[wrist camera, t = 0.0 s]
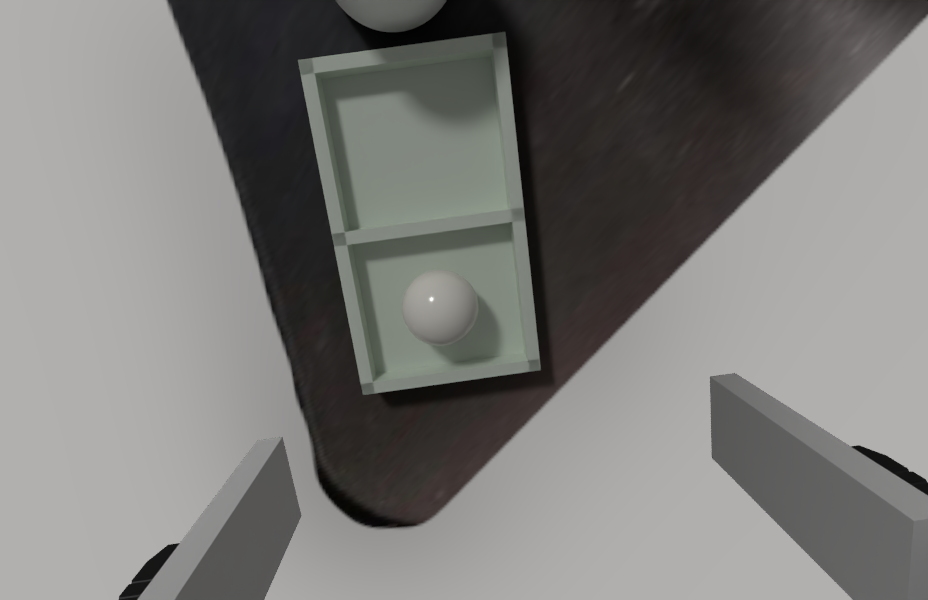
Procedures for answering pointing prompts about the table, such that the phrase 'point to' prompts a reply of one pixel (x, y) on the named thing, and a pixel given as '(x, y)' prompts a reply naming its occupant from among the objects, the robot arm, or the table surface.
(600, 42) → the table surface
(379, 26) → the cup
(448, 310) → the egg
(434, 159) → the holder
